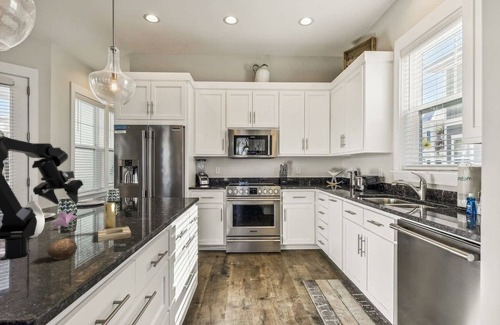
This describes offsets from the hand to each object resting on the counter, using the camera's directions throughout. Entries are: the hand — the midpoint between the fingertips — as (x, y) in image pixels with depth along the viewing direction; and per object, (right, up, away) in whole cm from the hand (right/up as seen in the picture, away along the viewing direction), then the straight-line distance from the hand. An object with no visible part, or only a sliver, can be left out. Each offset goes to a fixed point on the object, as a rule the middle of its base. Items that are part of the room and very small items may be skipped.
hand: (67, 203), depth 112 cm
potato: (+16, -14, -26) cm, 34 cm away
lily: (-9, -14, +12) cm, 21 cm away
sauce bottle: (-13, -14, -3) cm, 19 cm away
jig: (+21, -14, -1) cm, 25 cm away
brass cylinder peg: (+15, -14, +5) cm, 22 cm away
